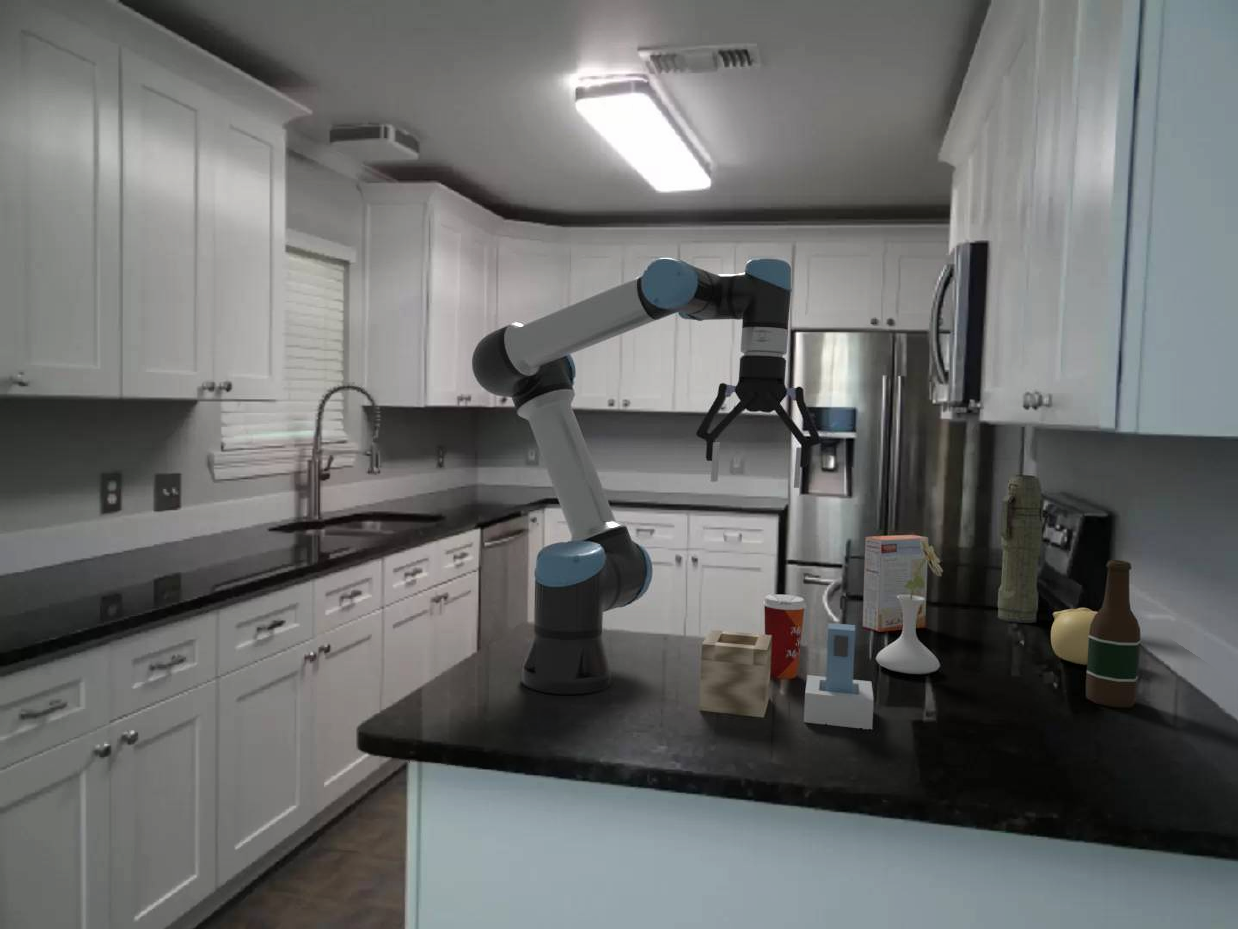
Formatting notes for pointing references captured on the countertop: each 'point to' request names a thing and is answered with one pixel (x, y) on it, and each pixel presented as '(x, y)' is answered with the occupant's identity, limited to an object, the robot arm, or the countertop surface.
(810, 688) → the block
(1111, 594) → the beer bottle
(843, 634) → the plug
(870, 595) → the cracker box
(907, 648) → the flower in vase
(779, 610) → the paper cup
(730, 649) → the block
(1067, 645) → the sculpture
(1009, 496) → the thermos
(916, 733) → the countertop surface
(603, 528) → the robot arm
